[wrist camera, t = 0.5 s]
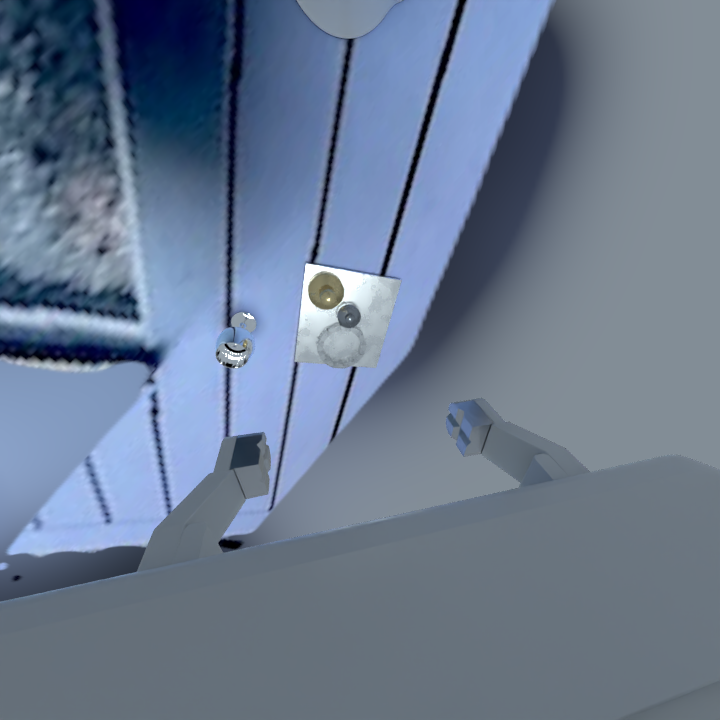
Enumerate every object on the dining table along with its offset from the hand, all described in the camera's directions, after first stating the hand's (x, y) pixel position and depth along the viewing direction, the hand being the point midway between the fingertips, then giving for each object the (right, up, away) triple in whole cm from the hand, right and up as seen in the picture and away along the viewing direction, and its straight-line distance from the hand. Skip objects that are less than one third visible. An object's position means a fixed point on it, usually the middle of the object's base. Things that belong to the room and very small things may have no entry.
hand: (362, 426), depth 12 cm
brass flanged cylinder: (-6, +16, +38) cm, 42 cm away
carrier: (-3, +11, +44) cm, 45 cm away
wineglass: (-22, +10, +40) cm, 47 cm away
